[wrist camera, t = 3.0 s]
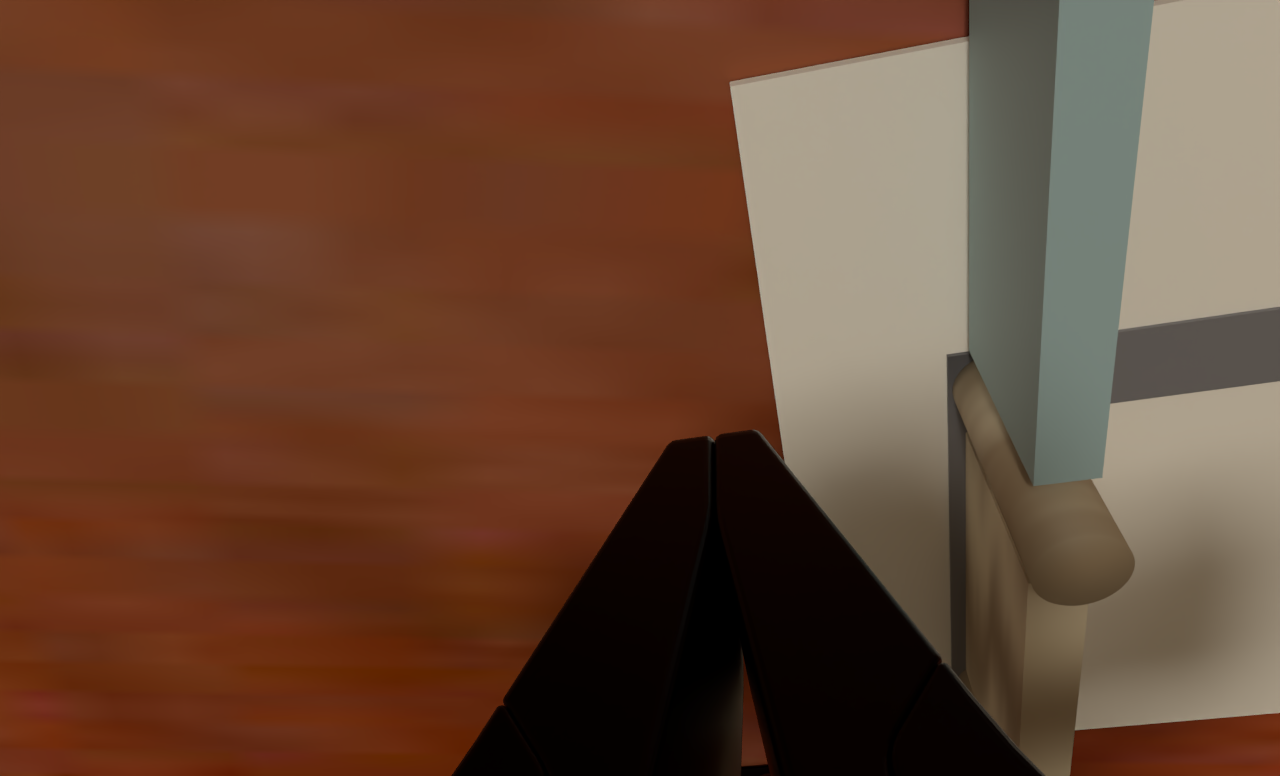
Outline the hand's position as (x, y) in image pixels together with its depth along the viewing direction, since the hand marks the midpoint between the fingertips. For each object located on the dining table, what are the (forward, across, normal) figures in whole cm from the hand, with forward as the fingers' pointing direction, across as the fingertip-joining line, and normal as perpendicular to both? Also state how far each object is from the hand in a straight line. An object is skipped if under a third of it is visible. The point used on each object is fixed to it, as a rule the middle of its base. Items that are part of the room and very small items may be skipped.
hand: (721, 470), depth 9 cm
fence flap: (+11, -6, +1) cm, 12 cm away
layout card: (+12, -10, +11) cm, 19 cm away
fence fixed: (+11, -6, +13) cm, 18 cm away
